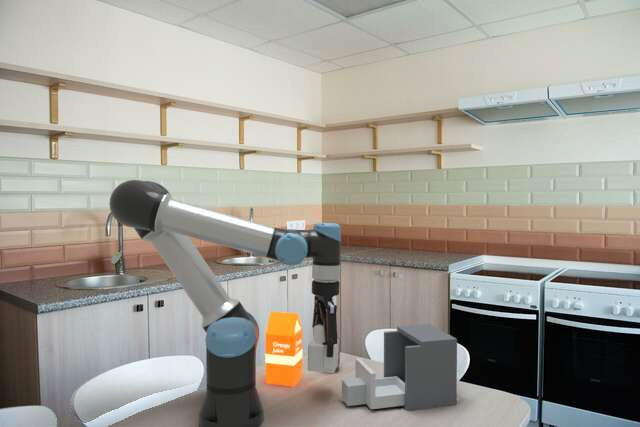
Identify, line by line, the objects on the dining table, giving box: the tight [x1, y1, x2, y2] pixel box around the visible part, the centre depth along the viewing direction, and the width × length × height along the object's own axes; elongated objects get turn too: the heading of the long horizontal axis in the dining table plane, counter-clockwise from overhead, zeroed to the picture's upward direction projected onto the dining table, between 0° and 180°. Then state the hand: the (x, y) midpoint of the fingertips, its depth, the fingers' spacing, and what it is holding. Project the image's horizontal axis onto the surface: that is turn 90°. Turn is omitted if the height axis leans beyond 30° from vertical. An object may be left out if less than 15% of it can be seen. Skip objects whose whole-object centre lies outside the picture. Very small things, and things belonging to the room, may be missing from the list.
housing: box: [383, 323, 458, 412], centre depth 127 cm, size 14×15×17 cm
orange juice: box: [264, 311, 303, 387], centre depth 139 cm, size 8×9×20 cm
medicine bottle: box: [307, 323, 339, 374], centre depth 128 cm, size 7×7×12 cm
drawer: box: [341, 357, 405, 410], centre depth 124 cm, size 17×12×9 cm
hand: (323, 361), depth 128 cm, fingers closed on medicine bottle, 9 cm apart
